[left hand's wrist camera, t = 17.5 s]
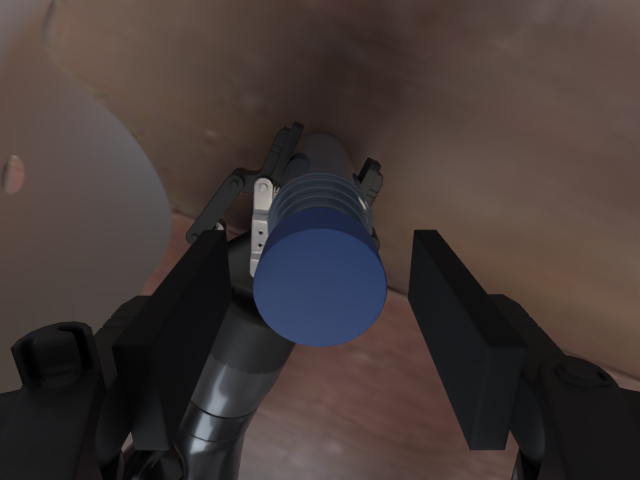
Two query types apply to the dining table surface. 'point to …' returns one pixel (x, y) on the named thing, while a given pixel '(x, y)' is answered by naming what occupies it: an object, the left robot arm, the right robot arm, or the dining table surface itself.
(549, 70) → the dining table surface
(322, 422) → the dining table surface
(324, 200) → the bottle
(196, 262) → the left robot arm
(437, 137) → the dining table surface
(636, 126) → the dining table surface
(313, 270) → the cap
